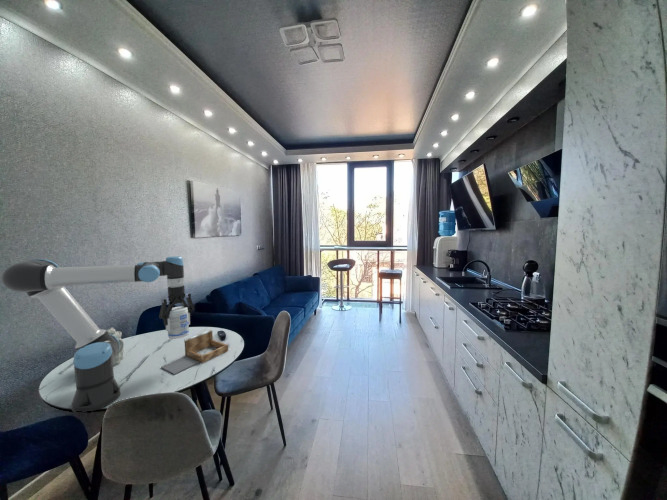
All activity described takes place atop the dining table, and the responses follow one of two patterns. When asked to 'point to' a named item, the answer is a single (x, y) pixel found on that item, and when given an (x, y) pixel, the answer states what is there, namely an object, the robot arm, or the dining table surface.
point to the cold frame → (203, 346)
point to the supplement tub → (178, 323)
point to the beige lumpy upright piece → (121, 344)
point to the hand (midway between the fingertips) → (178, 327)
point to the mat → (180, 365)
